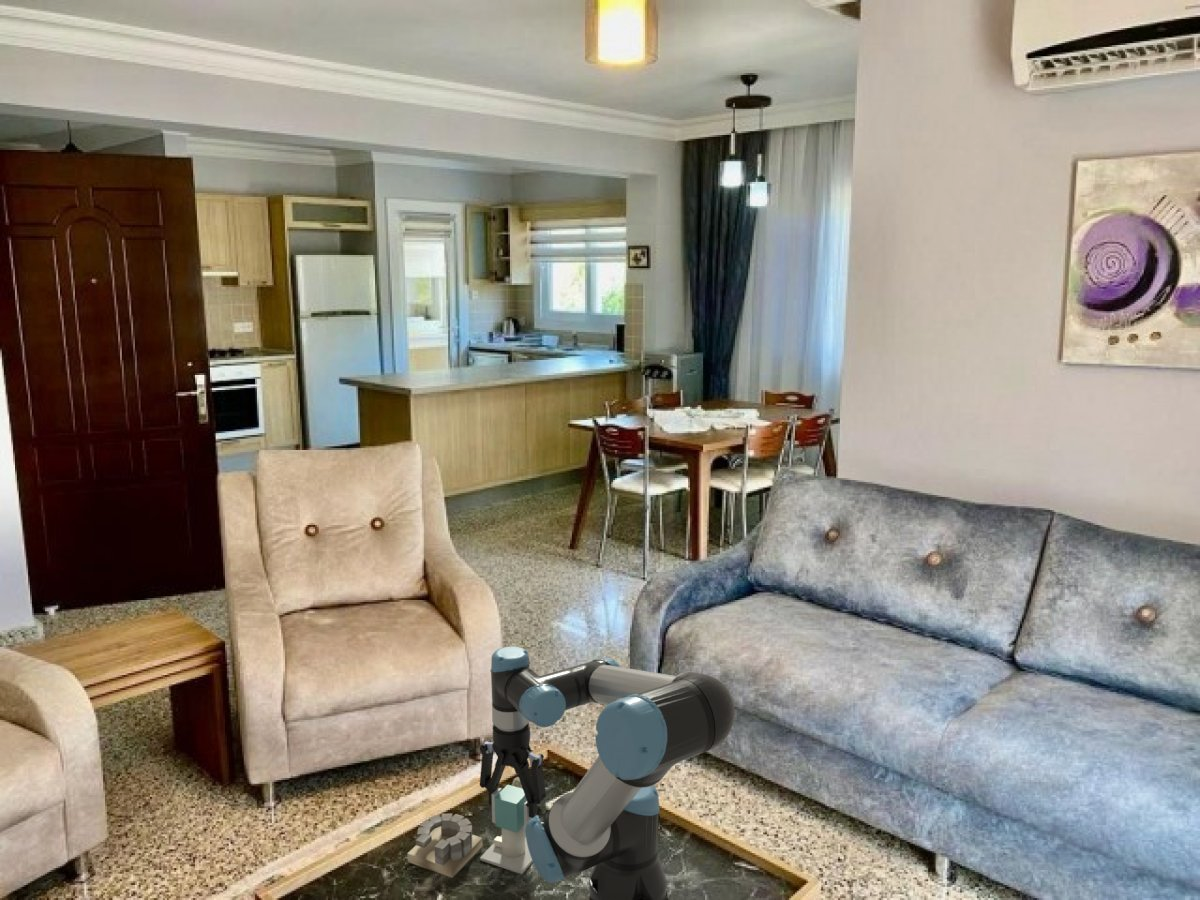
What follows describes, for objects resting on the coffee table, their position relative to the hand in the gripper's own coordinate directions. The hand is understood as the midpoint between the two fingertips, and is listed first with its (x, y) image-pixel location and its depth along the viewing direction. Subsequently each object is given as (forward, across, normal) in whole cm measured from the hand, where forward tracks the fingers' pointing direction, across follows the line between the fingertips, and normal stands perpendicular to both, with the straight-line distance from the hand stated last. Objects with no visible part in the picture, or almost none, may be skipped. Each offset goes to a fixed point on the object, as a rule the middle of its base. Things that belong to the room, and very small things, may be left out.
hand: (513, 824), depth 189 cm
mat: (+7, 0, 0) cm, 7 cm away
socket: (+7, +12, +6) cm, 16 cm away
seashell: (+7, +6, -15) cm, 18 cm away
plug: (+6, 0, 0) cm, 6 cm away
